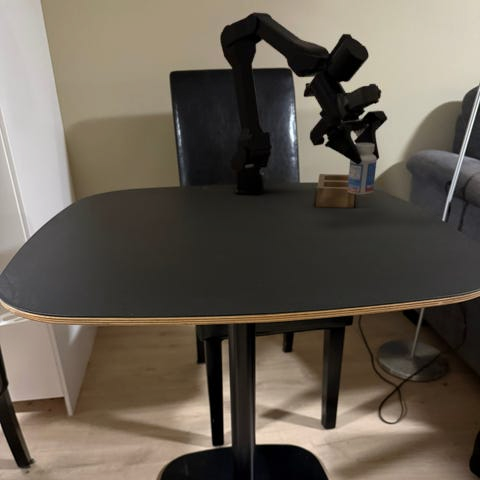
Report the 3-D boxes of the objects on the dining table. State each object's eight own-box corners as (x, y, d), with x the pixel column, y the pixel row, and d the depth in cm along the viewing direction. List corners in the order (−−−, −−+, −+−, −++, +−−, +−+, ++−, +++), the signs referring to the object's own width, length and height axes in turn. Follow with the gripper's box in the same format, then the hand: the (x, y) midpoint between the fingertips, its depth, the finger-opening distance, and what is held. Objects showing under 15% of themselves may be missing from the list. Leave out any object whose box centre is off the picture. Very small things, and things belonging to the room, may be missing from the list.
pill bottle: (369, 188, 105) (375, 141, 100) (375, 195, 100) (382, 146, 96) (344, 189, 105) (349, 142, 100) (349, 195, 100) (354, 146, 96)
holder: (316, 206, 117) (317, 187, 114) (318, 190, 131) (319, 173, 129) (353, 207, 115) (355, 188, 113) (351, 191, 129) (353, 174, 127)
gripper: (325, 69, 89) (365, 139, 87) (386, 68, 99) (424, 130, 97) (293, 112, 98) (329, 176, 96) (352, 106, 108) (385, 164, 106)
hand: (368, 161), depth 99 cm, fingers closed on pill bottle, 5 cm apart
